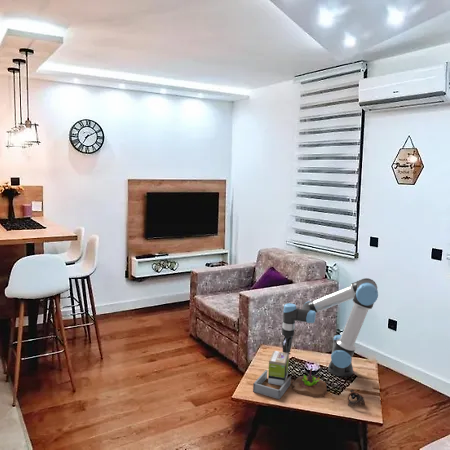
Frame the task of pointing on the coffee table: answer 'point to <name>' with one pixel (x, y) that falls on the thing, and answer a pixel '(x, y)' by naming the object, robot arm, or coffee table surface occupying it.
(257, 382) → the box
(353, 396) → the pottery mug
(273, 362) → the tea box
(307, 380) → the plant
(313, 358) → the coffee table surface
